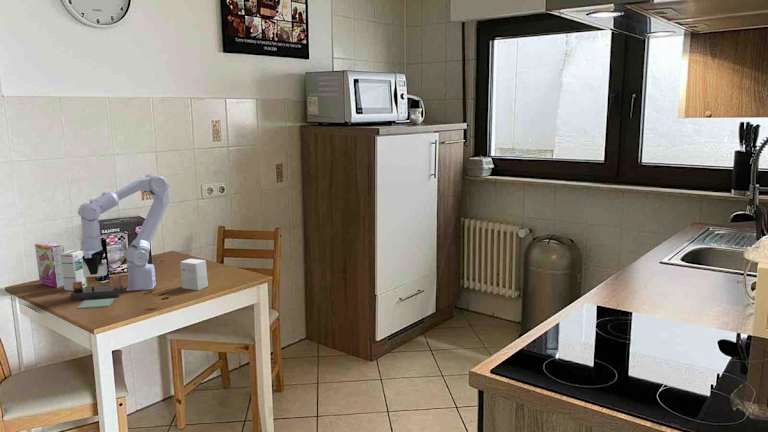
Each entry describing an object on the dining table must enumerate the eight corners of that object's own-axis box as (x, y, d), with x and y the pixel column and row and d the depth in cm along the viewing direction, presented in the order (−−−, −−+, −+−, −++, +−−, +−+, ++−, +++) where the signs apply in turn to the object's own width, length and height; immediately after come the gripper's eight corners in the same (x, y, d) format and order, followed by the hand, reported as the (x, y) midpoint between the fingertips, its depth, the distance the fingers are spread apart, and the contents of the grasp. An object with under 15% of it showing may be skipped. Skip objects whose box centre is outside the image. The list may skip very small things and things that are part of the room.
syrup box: (77, 291, 220) (73, 253, 217) (63, 290, 221) (59, 253, 219) (87, 286, 225) (83, 250, 223) (74, 285, 227) (70, 249, 224)
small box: (208, 286, 223) (206, 260, 221) (198, 290, 218) (196, 263, 216) (192, 284, 226) (190, 258, 225) (181, 288, 221) (179, 261, 220)
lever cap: (107, 272, 215) (106, 262, 214) (104, 275, 211) (103, 264, 210) (87, 274, 214) (85, 263, 213) (83, 277, 210) (82, 266, 209)
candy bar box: (39, 284, 229) (33, 244, 226) (51, 281, 233) (46, 241, 230) (56, 288, 223) (51, 246, 220) (68, 285, 228) (64, 244, 225)
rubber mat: (114, 299, 209) (114, 298, 209) (108, 306, 202) (108, 305, 202) (84, 301, 207) (84, 300, 207) (77, 308, 200) (77, 307, 200)
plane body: (123, 291, 219) (121, 273, 217) (118, 297, 212) (117, 278, 211) (77, 294, 216) (75, 276, 214) (71, 300, 209) (69, 281, 208)
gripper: (85, 232, 216) (89, 268, 218) (73, 241, 202) (77, 278, 204) (106, 231, 217) (109, 266, 220) (95, 240, 203) (99, 277, 206)
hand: (95, 272), depth 212 cm, fingers closed on lever cap, 4 cm apart
